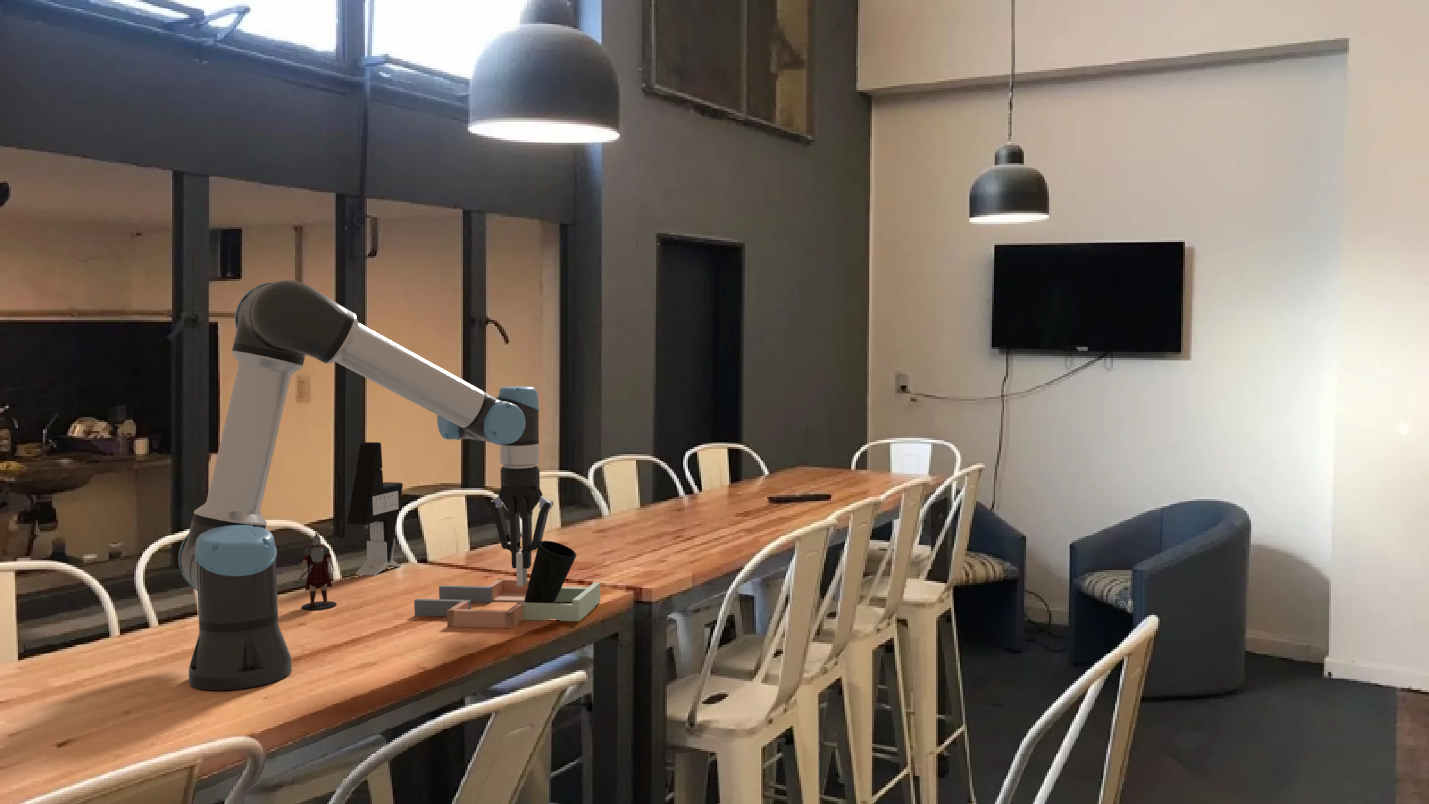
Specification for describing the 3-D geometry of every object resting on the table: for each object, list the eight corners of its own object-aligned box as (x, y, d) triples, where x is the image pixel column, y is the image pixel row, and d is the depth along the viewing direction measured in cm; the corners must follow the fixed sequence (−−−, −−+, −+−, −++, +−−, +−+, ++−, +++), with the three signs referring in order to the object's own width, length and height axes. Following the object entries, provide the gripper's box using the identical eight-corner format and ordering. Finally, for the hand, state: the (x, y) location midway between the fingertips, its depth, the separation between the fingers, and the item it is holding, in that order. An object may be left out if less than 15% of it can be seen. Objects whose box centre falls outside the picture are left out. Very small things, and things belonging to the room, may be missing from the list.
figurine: (302, 611, 222) (299, 536, 221) (299, 604, 229) (297, 531, 228) (338, 608, 225) (335, 533, 224) (334, 600, 232) (331, 528, 231)
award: (367, 578, 253) (362, 445, 251) (347, 576, 255) (343, 444, 253) (406, 564, 268) (402, 438, 266) (387, 563, 269) (383, 438, 267)
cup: (564, 611, 222) (584, 556, 221) (538, 615, 216) (559, 558, 214) (536, 594, 226) (556, 539, 225) (511, 597, 220) (531, 541, 218)
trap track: (398, 625, 211) (397, 604, 210) (455, 591, 238) (455, 573, 238) (569, 629, 205) (569, 608, 205) (608, 595, 232) (608, 576, 232)
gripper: (557, 463, 222) (558, 581, 224) (495, 462, 224) (497, 579, 226) (545, 468, 215) (547, 590, 217) (481, 467, 217) (484, 588, 219)
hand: (521, 584), depth 221 cm, fingers closed
